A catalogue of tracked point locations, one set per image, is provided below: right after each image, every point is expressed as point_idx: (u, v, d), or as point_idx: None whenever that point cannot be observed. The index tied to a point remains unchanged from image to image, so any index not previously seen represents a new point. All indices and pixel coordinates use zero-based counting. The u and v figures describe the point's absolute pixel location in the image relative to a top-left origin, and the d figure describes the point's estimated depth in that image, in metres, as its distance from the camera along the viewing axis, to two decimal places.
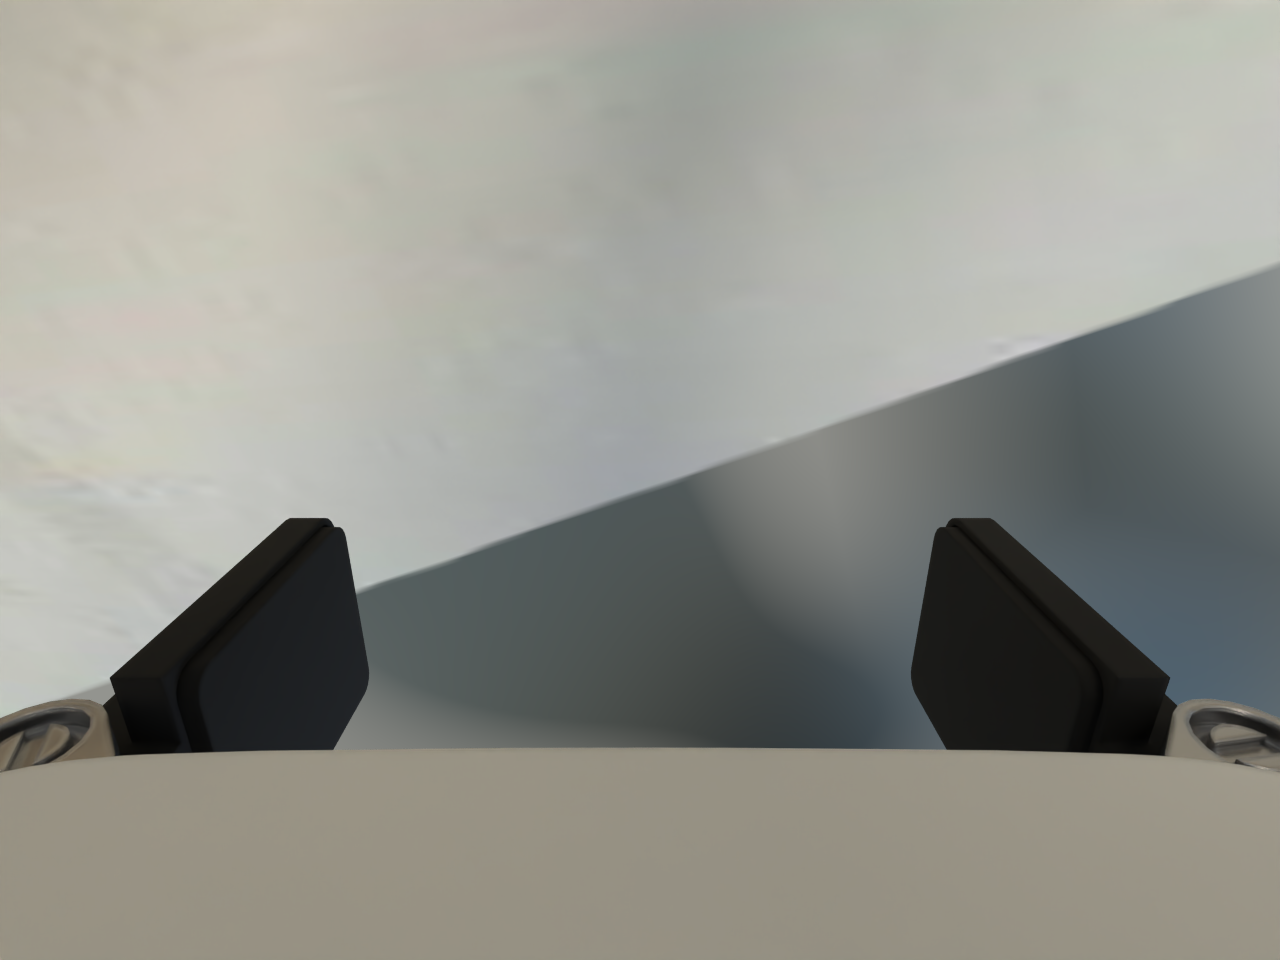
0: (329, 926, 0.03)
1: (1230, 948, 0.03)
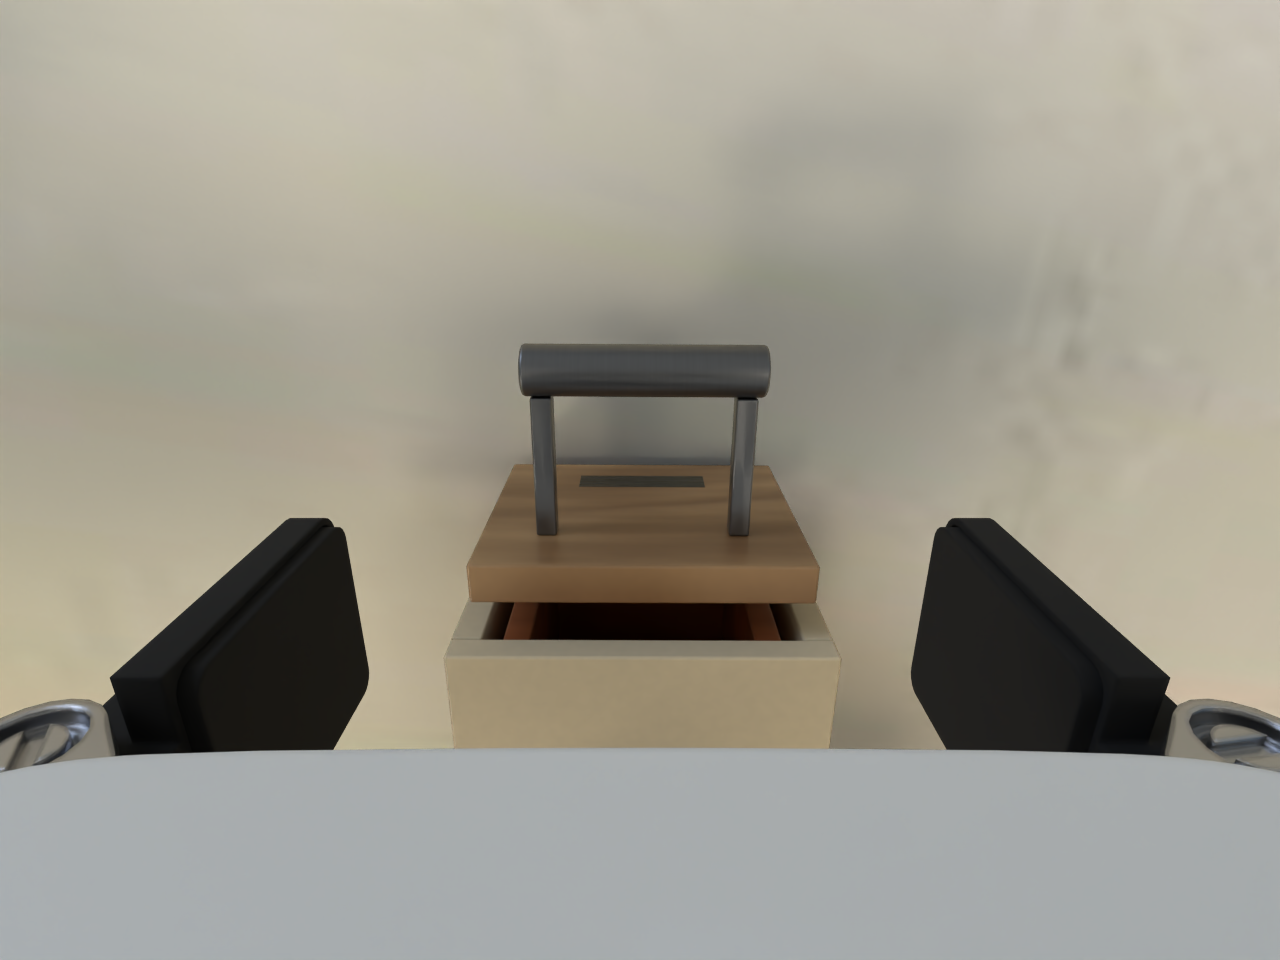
0: (330, 925, 0.03)
1: (1230, 948, 0.03)
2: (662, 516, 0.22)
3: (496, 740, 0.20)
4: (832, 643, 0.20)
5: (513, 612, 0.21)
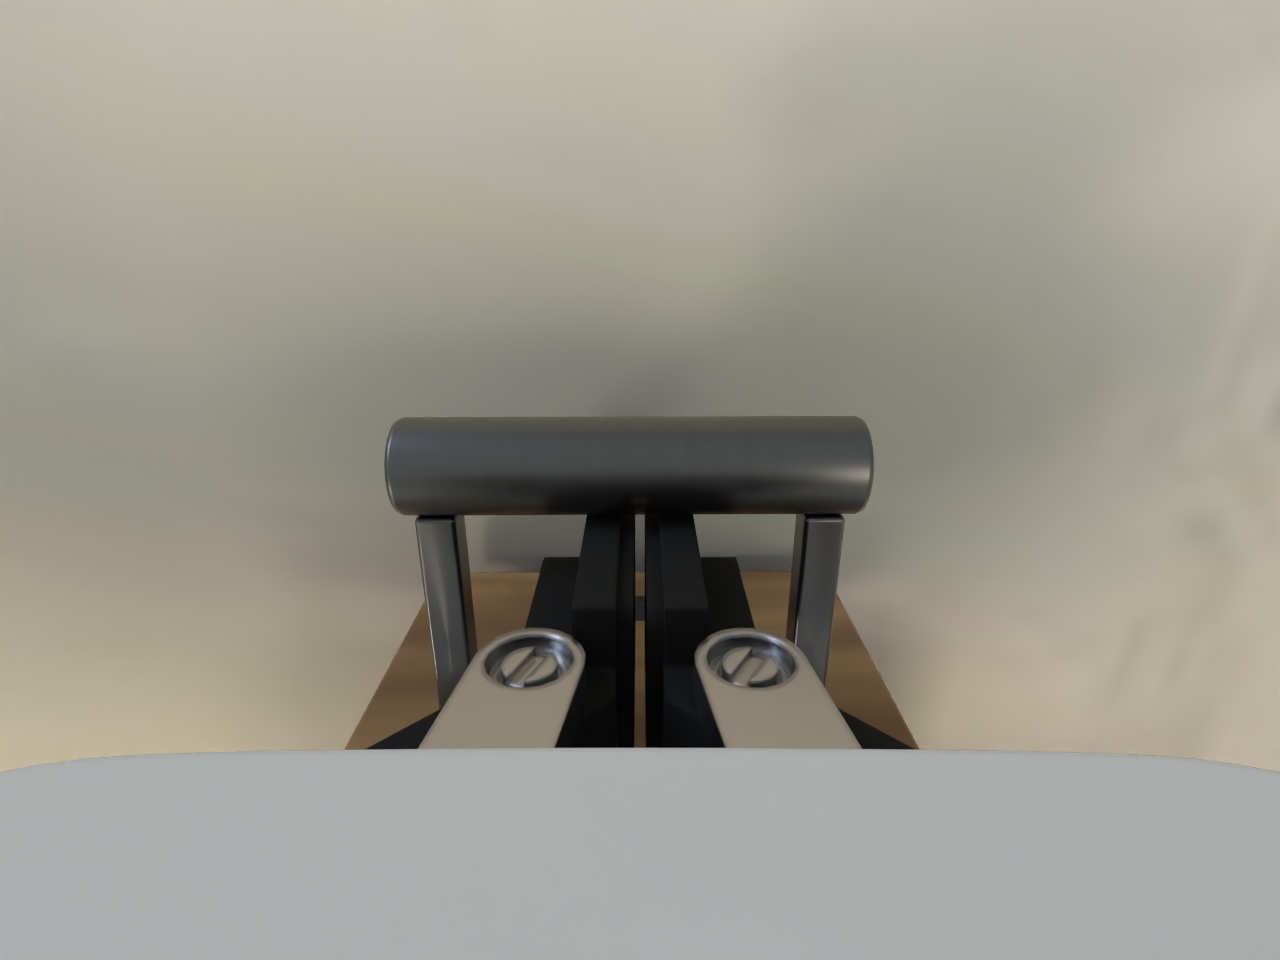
0: (330, 925, 0.03)
1: (1231, 948, 0.03)
2: None
3: None
4: None
5: None
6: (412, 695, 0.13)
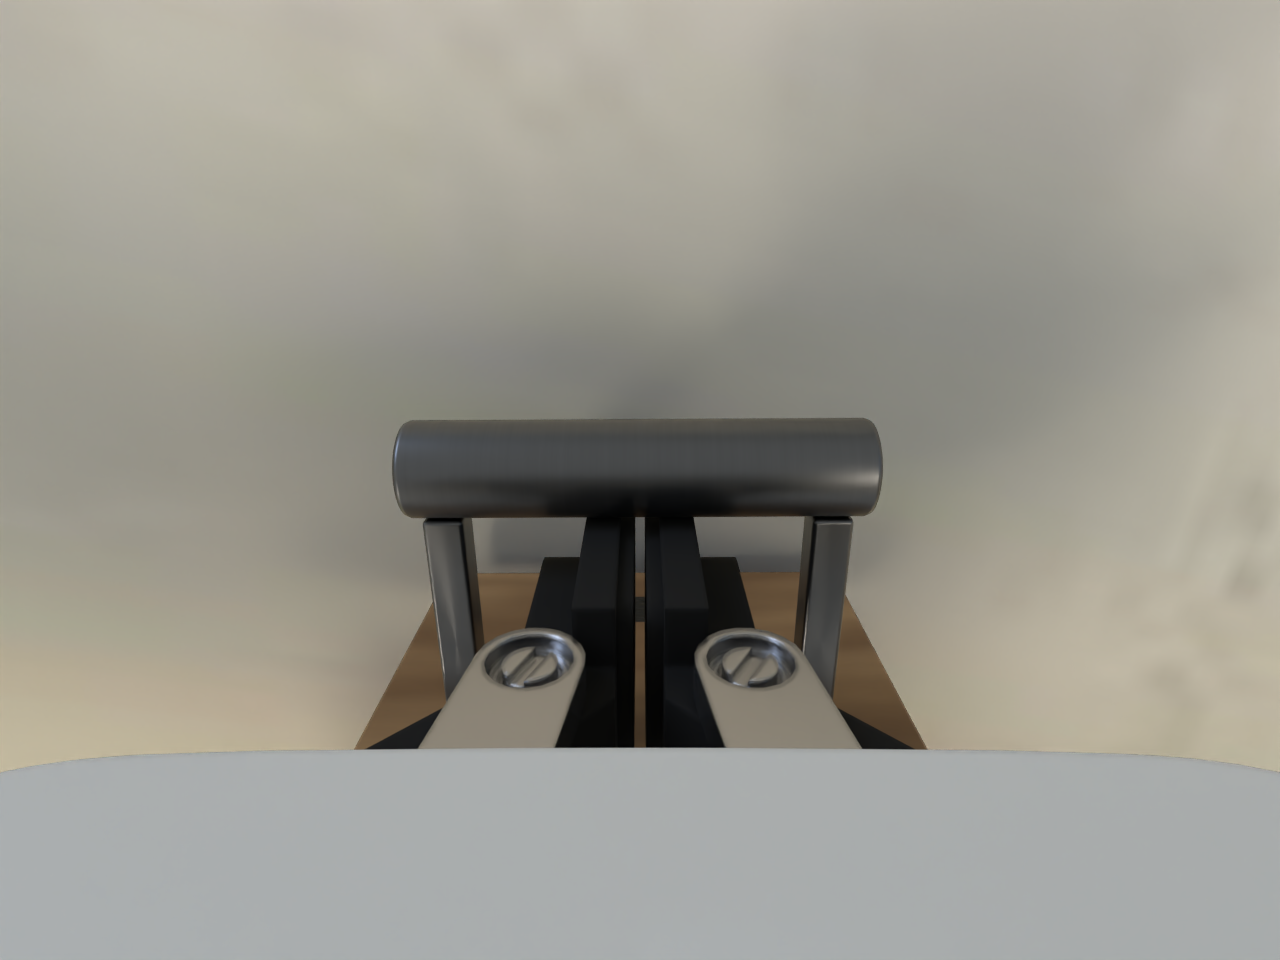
0: (330, 925, 0.03)
1: (1230, 948, 0.03)
2: None
3: None
4: None
5: None
6: (420, 696, 0.13)
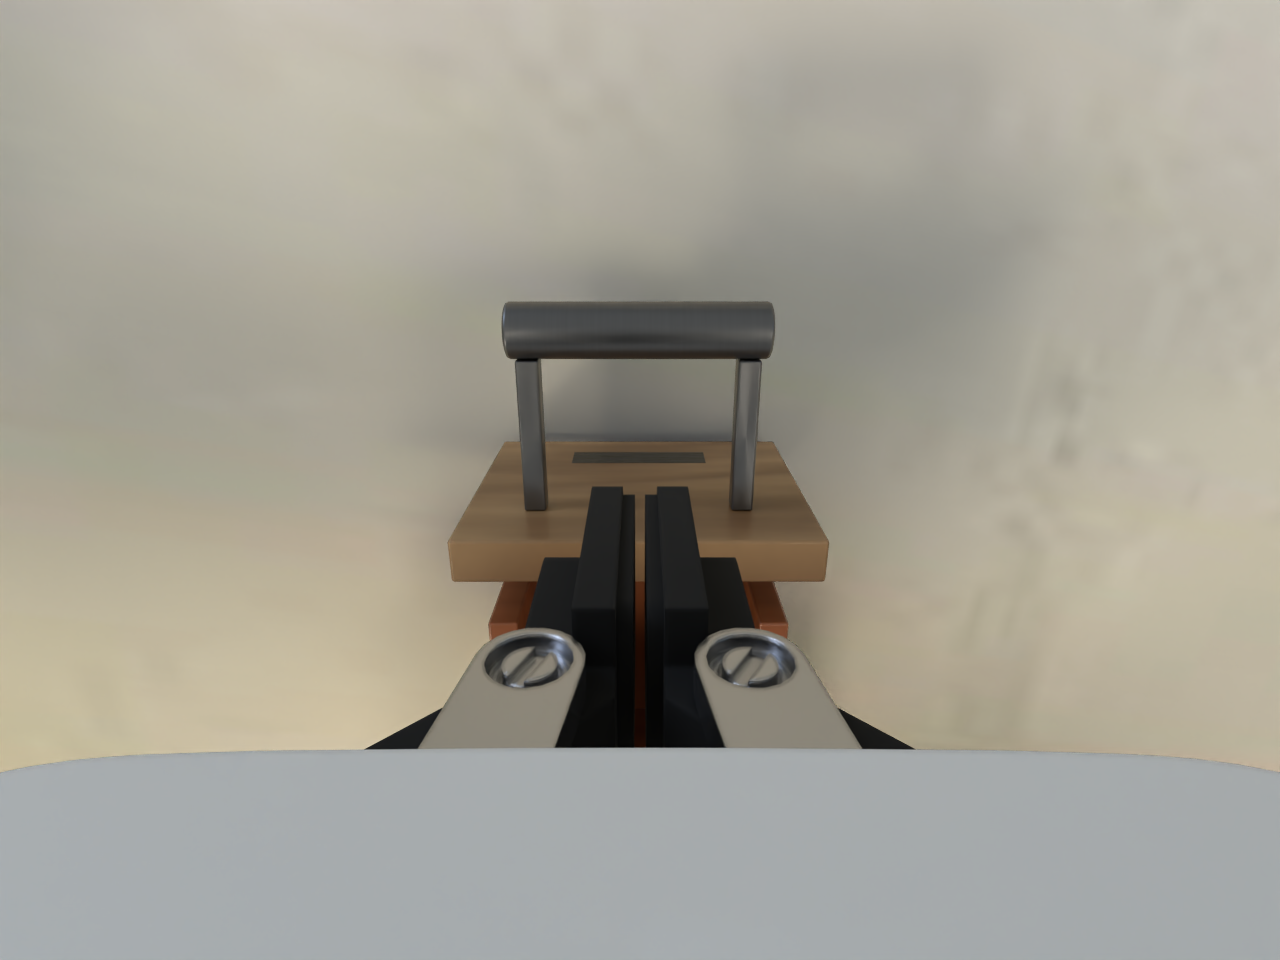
0: (330, 925, 0.03)
1: (1231, 948, 0.03)
2: None
3: None
4: None
5: (501, 594, 0.20)
6: (500, 492, 0.20)
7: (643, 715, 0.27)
